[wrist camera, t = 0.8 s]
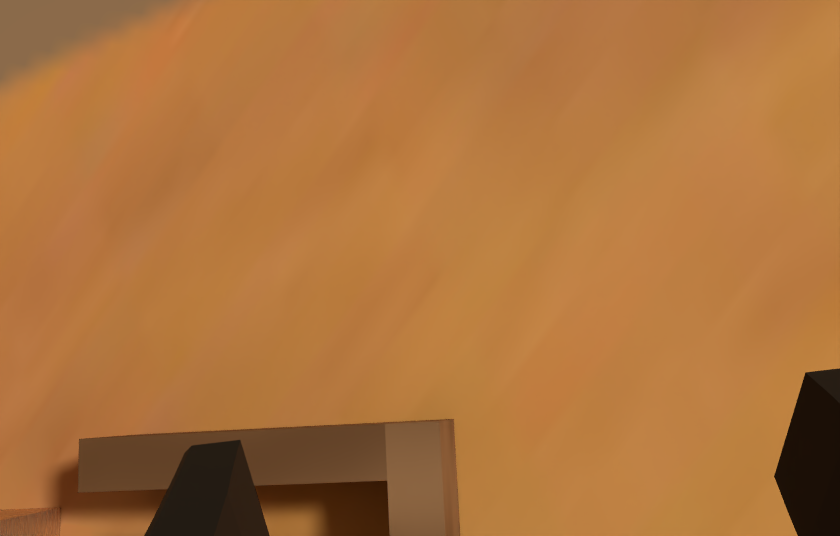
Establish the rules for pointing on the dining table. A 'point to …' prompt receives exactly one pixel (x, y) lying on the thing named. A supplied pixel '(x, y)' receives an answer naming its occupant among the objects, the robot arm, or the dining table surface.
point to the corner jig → (304, 464)
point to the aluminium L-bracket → (30, 522)
